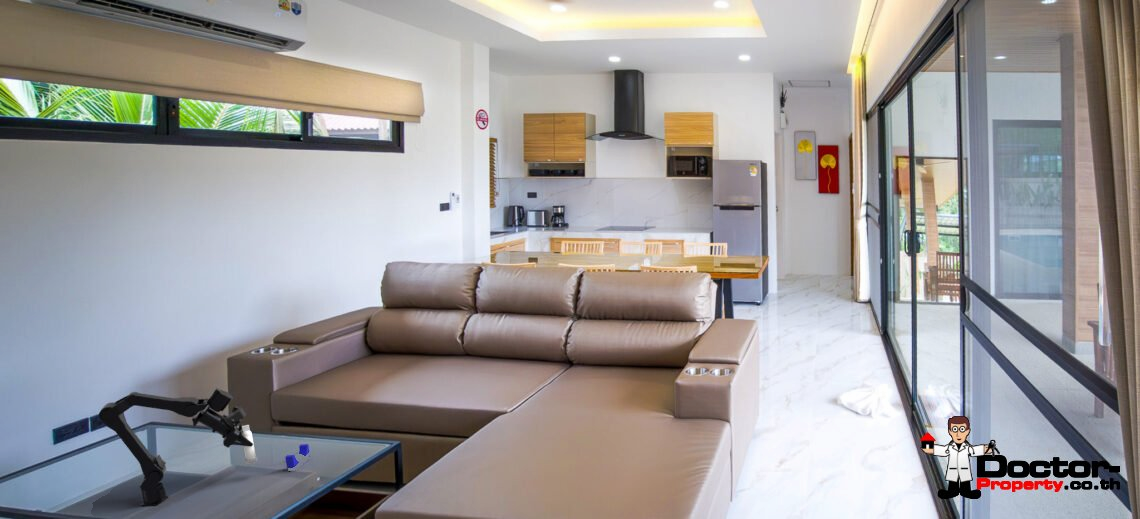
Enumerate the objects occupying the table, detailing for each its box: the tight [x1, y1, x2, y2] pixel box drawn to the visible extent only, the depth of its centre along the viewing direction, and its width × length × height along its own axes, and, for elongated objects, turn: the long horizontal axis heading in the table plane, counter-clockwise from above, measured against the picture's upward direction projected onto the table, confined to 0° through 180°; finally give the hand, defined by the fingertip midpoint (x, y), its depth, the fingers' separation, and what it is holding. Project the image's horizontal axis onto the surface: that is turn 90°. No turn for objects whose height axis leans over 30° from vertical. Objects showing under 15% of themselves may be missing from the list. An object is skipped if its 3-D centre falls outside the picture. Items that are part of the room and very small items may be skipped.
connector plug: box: [242, 424, 258, 466], centre depth 285 cm, size 4×4×14 cm
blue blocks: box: [284, 443, 310, 469], centre depth 297 cm, size 12×4×6 cm, turn 171°
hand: (252, 443), depth 286 cm, fingers closed on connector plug, 3 cm apart
